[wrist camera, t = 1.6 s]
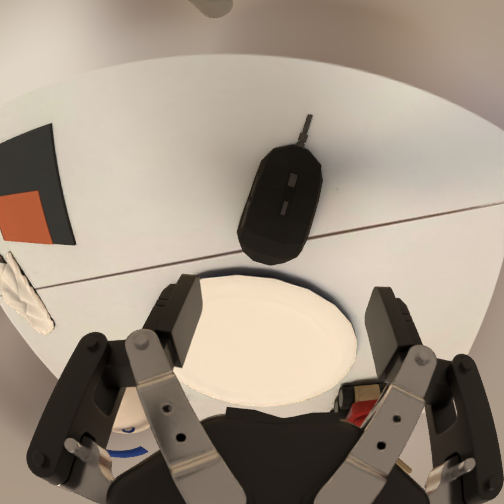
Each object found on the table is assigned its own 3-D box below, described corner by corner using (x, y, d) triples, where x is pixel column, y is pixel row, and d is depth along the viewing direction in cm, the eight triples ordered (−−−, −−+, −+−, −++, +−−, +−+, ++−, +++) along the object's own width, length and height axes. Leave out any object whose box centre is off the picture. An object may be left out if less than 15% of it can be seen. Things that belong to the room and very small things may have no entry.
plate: (232, 409, 47) (231, 416, 46) (115, 317, 36) (111, 325, 35) (379, 368, 37) (381, 377, 35) (289, 219, 26) (289, 227, 24)
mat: (-17, 152, 24) (-19, 153, 23) (51, 123, 22) (48, 124, 21) (5, 238, 32) (3, 240, 31) (76, 244, 30) (73, 246, 30)
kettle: (68, 343, 44) (29, 409, 29) (151, 363, 42) (115, 453, 27) (106, 394, 55) (82, 450, 39) (179, 413, 52) (160, 480, 37)
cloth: (54, 343, 46) (49, 350, 44) (-8, 286, 41) (-13, 292, 39) (58, 295, 36) (51, 304, 34) (-14, 225, 31) (-22, 231, 29)
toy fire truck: (327, 417, 47) (328, 494, 32) (342, 380, 39) (349, 481, 24) (378, 412, 45) (386, 485, 30) (404, 374, 37) (423, 466, 22)
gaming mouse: (344, 127, 20) (356, 132, 17) (291, 266, 28) (291, 290, 25) (273, 103, 20) (271, 103, 17) (232, 249, 28) (225, 272, 25)
